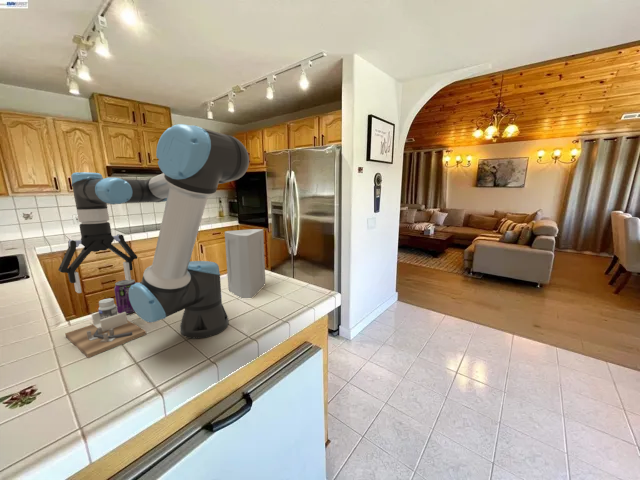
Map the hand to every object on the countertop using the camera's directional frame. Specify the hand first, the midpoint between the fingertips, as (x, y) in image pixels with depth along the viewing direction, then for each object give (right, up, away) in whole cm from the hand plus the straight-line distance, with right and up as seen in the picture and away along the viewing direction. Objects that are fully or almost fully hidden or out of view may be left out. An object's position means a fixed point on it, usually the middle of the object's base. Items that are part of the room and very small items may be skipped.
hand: (105, 285), depth 88 cm
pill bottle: (-1, -14, +3) cm, 14 cm away
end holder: (0, -14, +3) cm, 14 cm away
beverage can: (-3, -13, +15) cm, 20 cm away
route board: (+2, -16, -2) cm, 16 cm away
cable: (+5, -15, -4) cm, 16 cm away
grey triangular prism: (+36, -9, +37) cm, 52 cm away
